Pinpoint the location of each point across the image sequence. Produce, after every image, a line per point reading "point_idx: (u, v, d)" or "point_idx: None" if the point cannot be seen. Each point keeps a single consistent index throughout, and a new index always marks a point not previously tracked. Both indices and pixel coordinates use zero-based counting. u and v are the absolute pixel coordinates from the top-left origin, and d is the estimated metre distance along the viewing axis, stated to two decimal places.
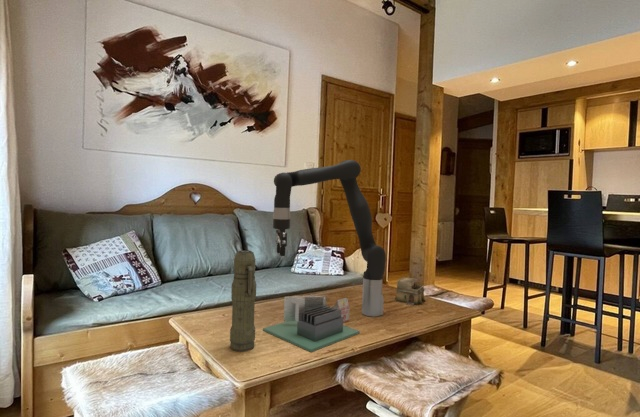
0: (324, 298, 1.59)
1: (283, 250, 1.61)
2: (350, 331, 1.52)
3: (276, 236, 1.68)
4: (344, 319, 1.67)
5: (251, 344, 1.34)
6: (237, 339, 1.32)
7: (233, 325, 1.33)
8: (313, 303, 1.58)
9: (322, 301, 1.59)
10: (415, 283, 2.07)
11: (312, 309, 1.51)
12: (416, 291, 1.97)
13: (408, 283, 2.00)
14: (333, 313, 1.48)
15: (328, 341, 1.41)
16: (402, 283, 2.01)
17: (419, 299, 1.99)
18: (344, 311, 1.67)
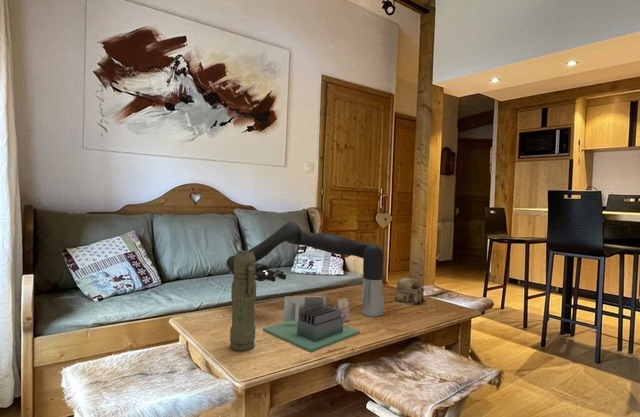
0: (324, 298, 1.59)
1: (269, 277, 1.59)
2: (350, 331, 1.52)
3: None
4: (344, 319, 1.67)
5: (251, 344, 1.34)
6: (237, 339, 1.32)
7: (233, 325, 1.33)
8: (313, 303, 1.58)
9: (322, 301, 1.59)
10: (415, 283, 2.07)
11: (312, 309, 1.51)
12: (416, 291, 1.97)
13: (408, 283, 1.99)
14: (333, 313, 1.48)
15: (328, 341, 1.41)
16: (402, 283, 2.01)
17: (419, 299, 1.99)
18: (344, 311, 1.67)
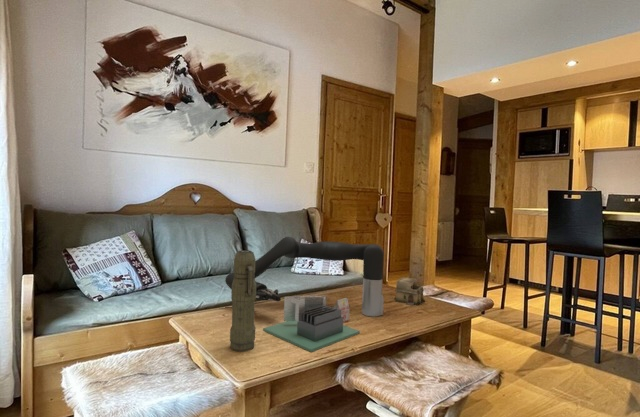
0: (324, 298, 1.59)
1: (273, 297, 1.61)
2: (350, 331, 1.52)
3: None
4: (344, 319, 1.67)
5: (251, 344, 1.34)
6: (237, 339, 1.32)
7: (233, 325, 1.33)
8: (313, 303, 1.58)
9: (322, 301, 1.59)
10: (414, 283, 2.07)
11: (312, 309, 1.51)
12: (415, 291, 1.97)
13: (407, 283, 1.99)
14: (333, 313, 1.48)
15: (328, 341, 1.41)
16: (401, 283, 2.01)
17: (418, 299, 1.99)
18: (344, 311, 1.67)
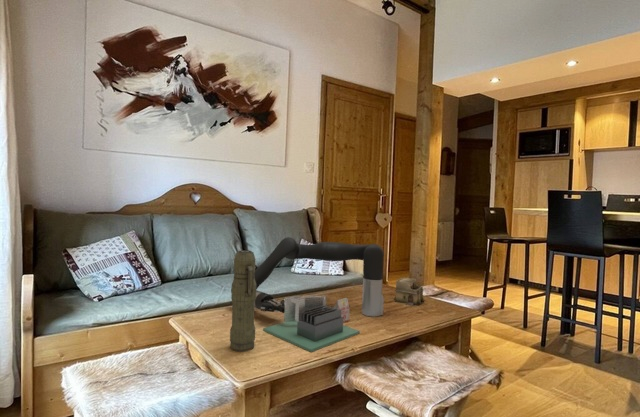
0: (324, 298, 1.59)
1: (279, 309, 1.58)
2: (350, 331, 1.52)
3: None
4: (344, 319, 1.67)
5: (251, 344, 1.34)
6: (237, 339, 1.32)
7: (233, 325, 1.33)
8: (313, 303, 1.58)
9: (322, 301, 1.59)
10: (414, 283, 2.06)
11: (312, 309, 1.51)
12: (415, 291, 1.97)
13: (407, 283, 1.99)
14: (333, 313, 1.48)
15: (328, 341, 1.41)
16: (401, 283, 2.00)
17: (418, 299, 1.98)
18: (344, 311, 1.67)
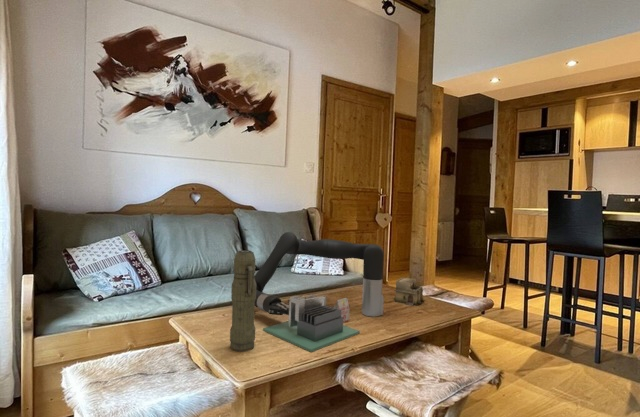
0: (325, 298, 1.59)
1: (287, 312, 1.53)
2: (350, 331, 1.52)
3: None
4: (344, 319, 1.67)
5: (251, 344, 1.34)
6: (237, 339, 1.32)
7: (233, 325, 1.33)
8: (316, 304, 1.56)
9: (323, 301, 1.59)
10: (414, 283, 2.06)
11: (312, 309, 1.51)
12: (415, 291, 1.96)
13: (407, 283, 1.99)
14: (333, 313, 1.48)
15: (328, 341, 1.41)
16: (401, 283, 2.00)
17: (418, 299, 1.98)
18: (344, 311, 1.67)
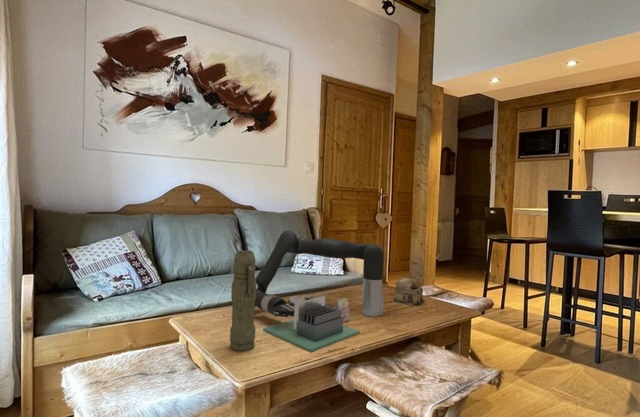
0: (325, 298, 1.59)
1: (293, 314, 1.51)
2: (350, 331, 1.52)
3: None
4: (344, 319, 1.67)
5: (251, 344, 1.34)
6: (237, 339, 1.32)
7: (233, 325, 1.33)
8: (317, 305, 1.56)
9: (324, 301, 1.59)
10: (414, 283, 2.06)
11: (312, 309, 1.51)
12: (415, 292, 1.96)
13: (407, 284, 1.98)
14: (333, 313, 1.48)
15: (328, 341, 1.41)
16: (401, 284, 2.00)
17: (418, 300, 1.98)
18: (344, 311, 1.67)
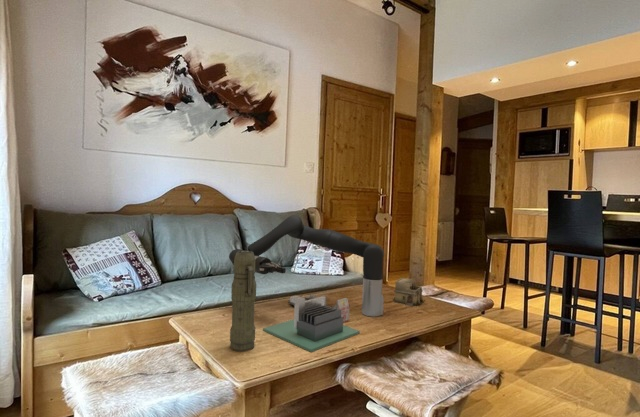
0: (325, 298, 1.59)
1: (277, 269, 1.59)
2: (350, 331, 1.52)
3: None
4: (344, 319, 1.67)
5: (251, 344, 1.34)
6: (237, 339, 1.32)
7: (233, 325, 1.33)
8: (317, 305, 1.56)
9: (324, 301, 1.59)
10: (413, 284, 2.05)
11: (312, 309, 1.51)
12: (415, 292, 1.95)
13: (406, 284, 1.98)
14: (333, 313, 1.48)
15: (328, 341, 1.41)
16: (400, 284, 1.99)
17: (417, 300, 1.97)
18: (344, 311, 1.67)
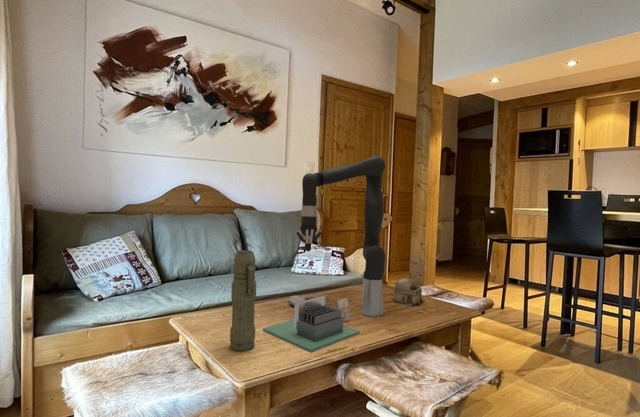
0: (325, 298, 1.59)
1: (305, 246, 1.79)
2: (350, 331, 1.52)
3: None
4: (344, 319, 1.67)
5: (251, 344, 1.34)
6: (237, 339, 1.32)
7: (233, 325, 1.33)
8: (317, 305, 1.56)
9: (324, 301, 1.59)
10: (412, 284, 2.05)
11: (312, 309, 1.51)
12: (414, 292, 1.95)
13: (406, 284, 1.97)
14: (333, 313, 1.48)
15: (328, 341, 1.41)
16: (400, 284, 1.99)
17: (417, 300, 1.97)
18: (344, 311, 1.67)
